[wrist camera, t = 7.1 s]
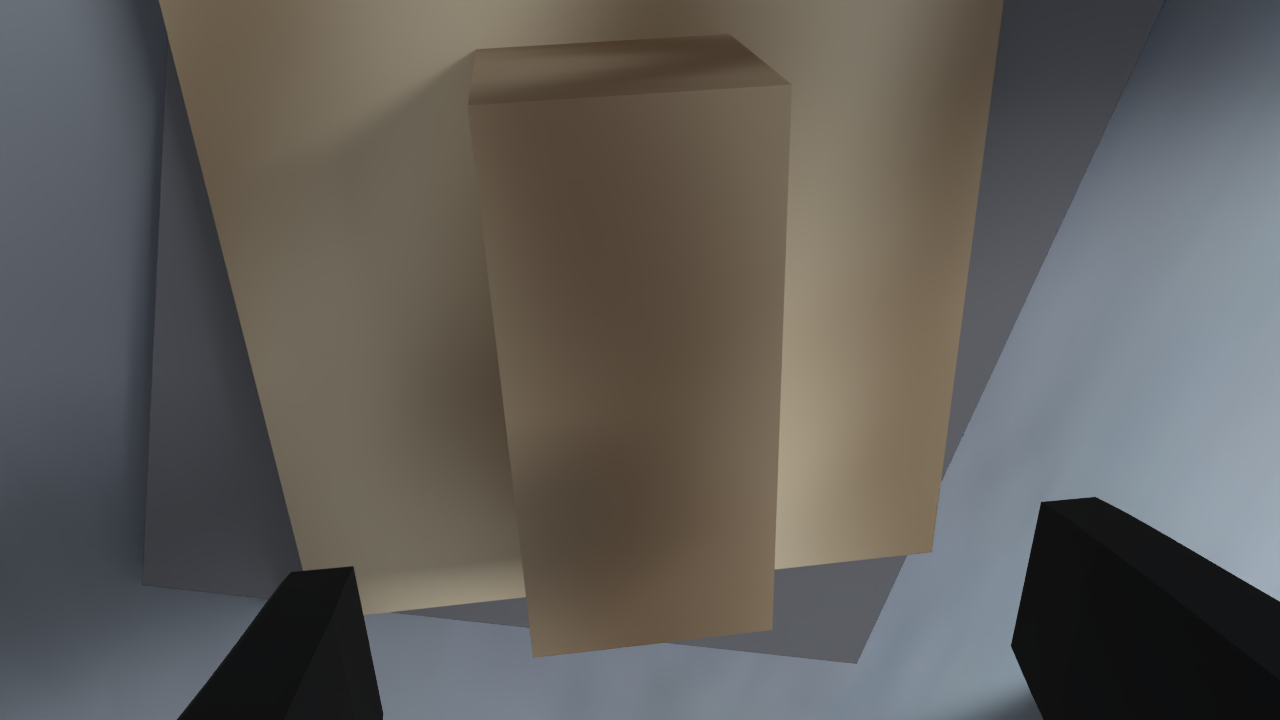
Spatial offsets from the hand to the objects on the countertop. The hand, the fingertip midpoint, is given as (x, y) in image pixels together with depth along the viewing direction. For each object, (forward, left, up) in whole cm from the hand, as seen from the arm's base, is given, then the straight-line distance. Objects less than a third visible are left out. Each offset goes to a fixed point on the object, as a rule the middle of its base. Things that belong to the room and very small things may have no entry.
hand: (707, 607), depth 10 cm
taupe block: (0, 0, -9) cm, 9 cm away
